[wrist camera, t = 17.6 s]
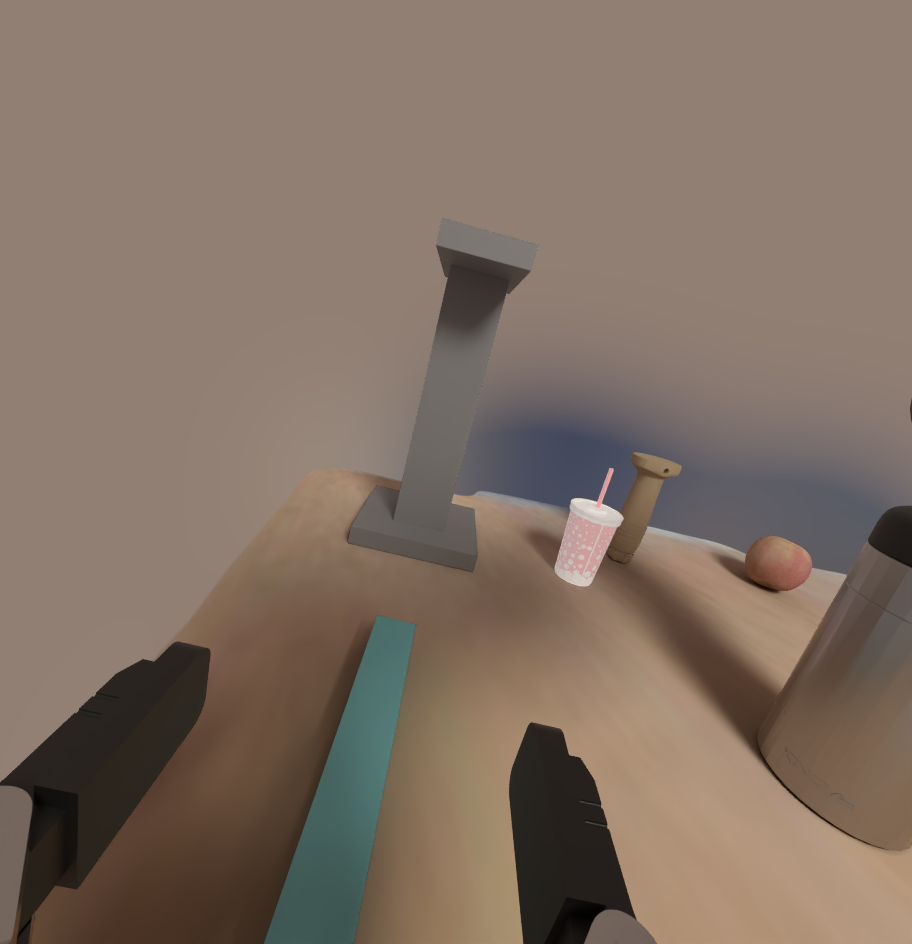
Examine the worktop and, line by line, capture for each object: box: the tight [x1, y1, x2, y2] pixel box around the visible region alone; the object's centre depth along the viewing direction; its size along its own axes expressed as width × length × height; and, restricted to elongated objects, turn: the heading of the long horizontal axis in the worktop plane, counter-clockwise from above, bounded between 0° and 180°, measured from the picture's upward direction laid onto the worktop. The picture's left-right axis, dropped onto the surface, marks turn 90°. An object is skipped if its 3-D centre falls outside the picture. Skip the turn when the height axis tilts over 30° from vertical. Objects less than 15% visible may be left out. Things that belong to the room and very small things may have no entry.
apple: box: [745, 536, 812, 591], centre depth 65 cm, size 8×8×8 cm
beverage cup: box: [555, 468, 624, 586], centre depth 52 cm, size 6×6×14 cm
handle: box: [607, 452, 682, 563], centre depth 60 cm, size 5×6×15 cm
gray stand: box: [348, 218, 538, 572], centre depth 48 cm, size 18×14×32 cm
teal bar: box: [264, 615, 416, 944], centre depth 21 cm, size 26×3×3 cm, turn 178°
